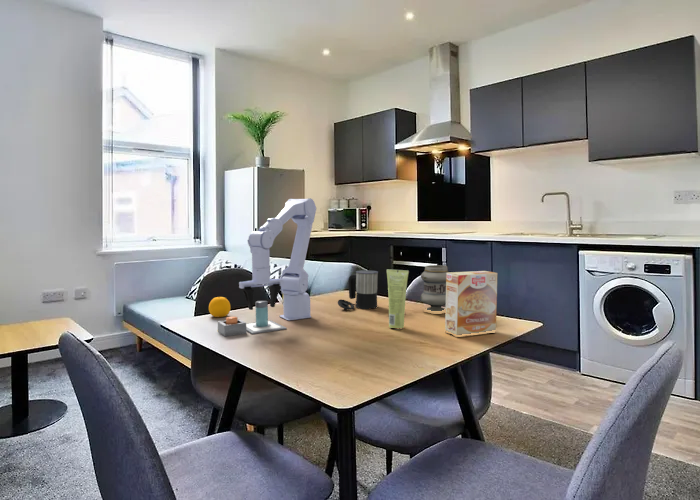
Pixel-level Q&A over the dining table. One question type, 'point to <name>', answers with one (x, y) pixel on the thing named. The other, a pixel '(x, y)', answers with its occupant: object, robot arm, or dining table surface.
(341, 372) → the dining table surface
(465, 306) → the coffeecake box
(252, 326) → the board
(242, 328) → the button housing
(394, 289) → the tube
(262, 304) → the marker
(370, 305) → the milk frother
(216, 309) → the apple
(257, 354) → the dining table surface
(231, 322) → the button
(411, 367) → the dining table surface
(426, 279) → the apothecary jar
